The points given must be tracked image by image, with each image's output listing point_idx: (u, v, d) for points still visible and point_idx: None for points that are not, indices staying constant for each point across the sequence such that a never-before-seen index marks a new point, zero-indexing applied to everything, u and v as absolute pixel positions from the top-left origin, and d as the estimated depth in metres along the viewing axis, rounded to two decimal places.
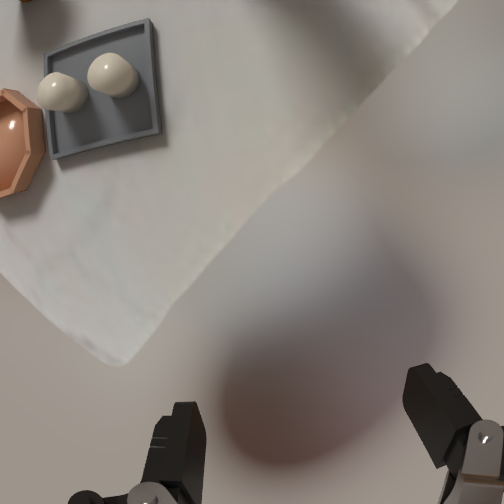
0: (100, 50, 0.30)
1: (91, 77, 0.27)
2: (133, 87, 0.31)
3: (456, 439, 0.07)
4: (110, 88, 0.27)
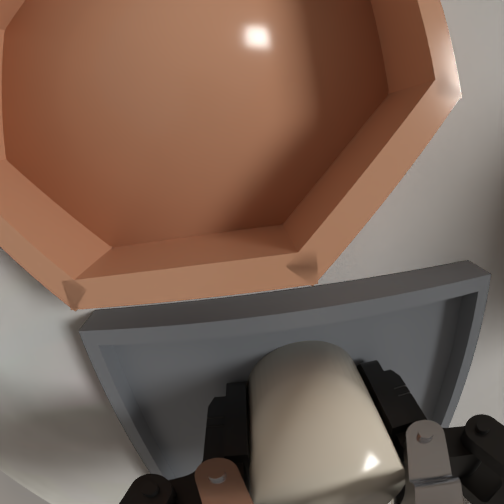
0: None
1: None
2: None
3: (396, 437, 0.08)
4: None
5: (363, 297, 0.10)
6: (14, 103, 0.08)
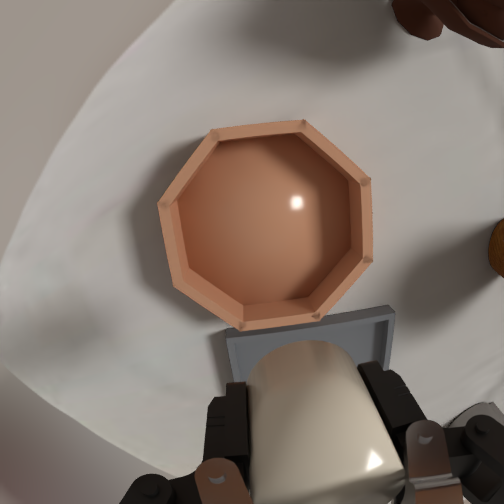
0: None
1: None
2: None
3: (396, 437, 0.08)
4: None
5: (337, 322, 0.26)
6: (193, 243, 0.24)
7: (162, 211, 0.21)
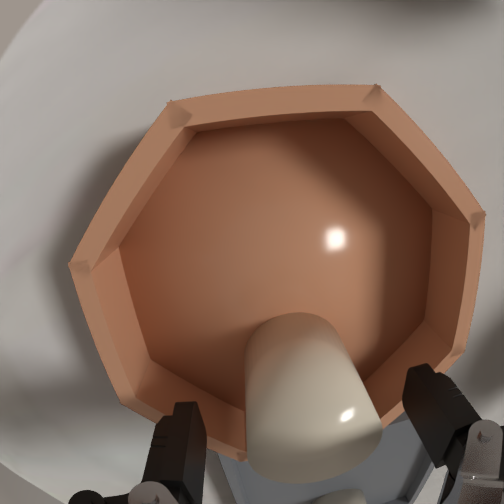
0: (403, 469, 0.18)
1: None
2: None
3: (455, 439, 0.07)
4: None
5: None
6: (153, 323, 0.13)
7: (79, 281, 0.10)
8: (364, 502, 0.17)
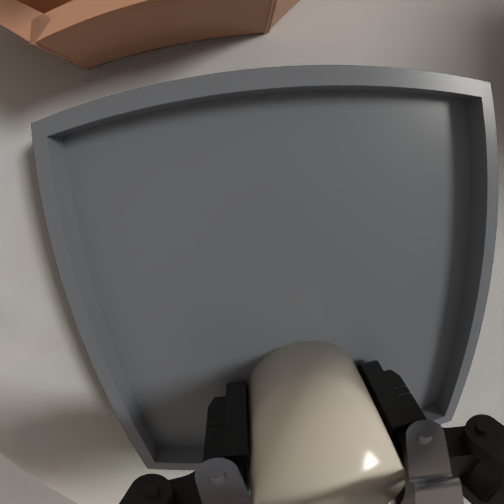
0: (430, 303, 0.11)
1: (329, 478, 0.06)
2: None
3: (396, 437, 0.08)
4: None
5: (348, 67, 0.08)
6: None
7: None
8: (358, 375, 0.10)
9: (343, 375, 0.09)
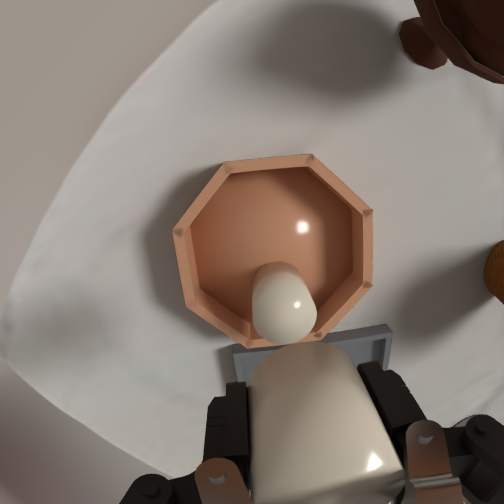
0: None
1: (329, 479, 0.06)
2: None
3: (396, 437, 0.08)
4: None
5: (337, 340, 0.28)
6: (204, 266, 0.26)
7: (177, 238, 0.23)
8: (358, 376, 0.10)
9: (343, 375, 0.09)
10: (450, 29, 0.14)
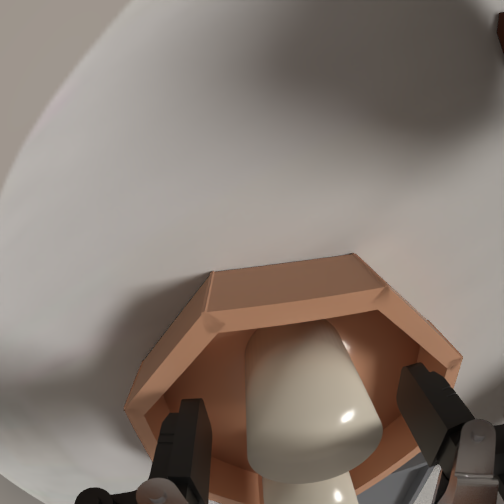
0: (388, 502, 0.20)
1: (312, 419, 0.08)
2: None
3: (448, 438, 0.07)
4: (254, 466, 0.09)
5: None
6: None
7: (134, 419, 0.11)
8: (341, 342, 0.12)
9: (326, 339, 0.11)
10: None
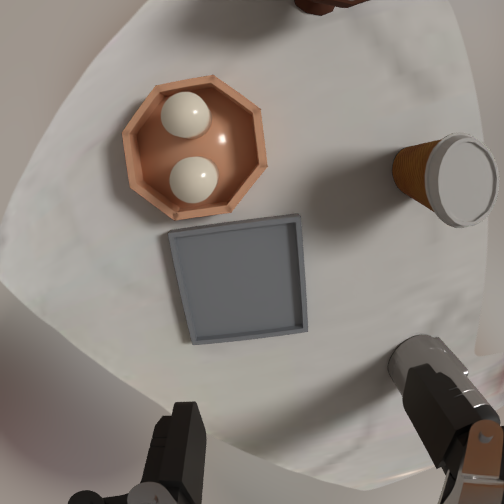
0: (285, 283, 0.39)
1: (179, 97, 0.27)
2: None
3: (456, 439, 0.07)
4: (163, 122, 0.28)
5: (251, 221, 0.36)
6: (146, 163, 0.34)
7: (124, 137, 0.30)
8: None
9: None
10: None
